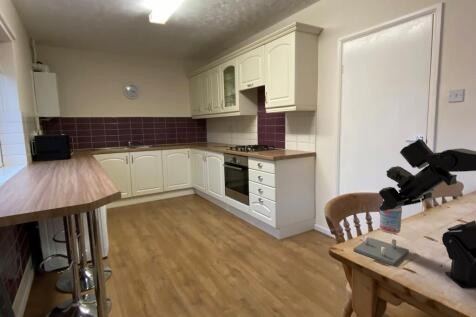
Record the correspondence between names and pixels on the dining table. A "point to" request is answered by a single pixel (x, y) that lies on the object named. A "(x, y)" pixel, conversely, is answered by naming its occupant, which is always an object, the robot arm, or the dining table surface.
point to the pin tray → (381, 250)
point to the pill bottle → (390, 220)
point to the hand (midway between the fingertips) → (386, 207)
